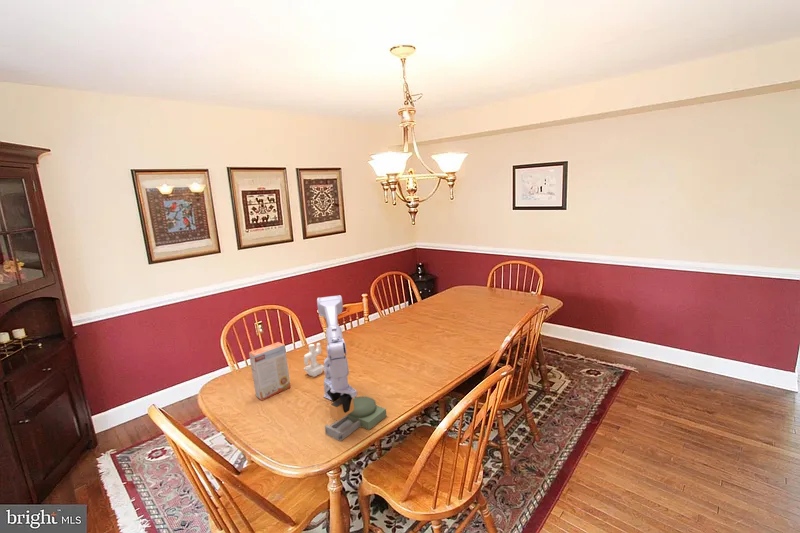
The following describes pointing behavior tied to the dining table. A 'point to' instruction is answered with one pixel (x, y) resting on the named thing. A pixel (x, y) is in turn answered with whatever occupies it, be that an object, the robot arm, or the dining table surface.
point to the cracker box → (269, 370)
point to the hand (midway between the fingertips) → (342, 409)
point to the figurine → (313, 361)
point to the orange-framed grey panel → (339, 409)
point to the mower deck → (357, 418)
